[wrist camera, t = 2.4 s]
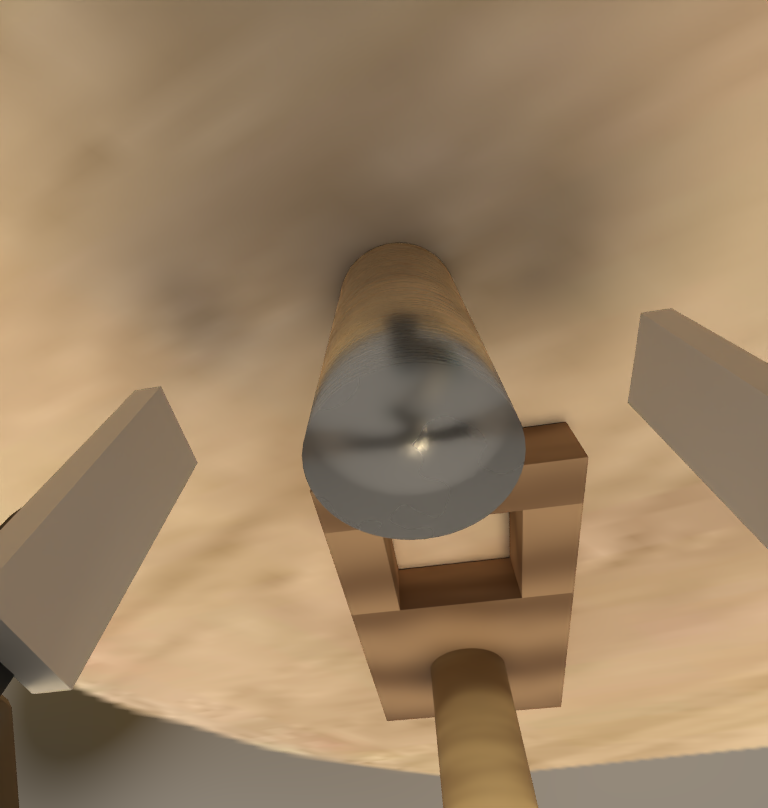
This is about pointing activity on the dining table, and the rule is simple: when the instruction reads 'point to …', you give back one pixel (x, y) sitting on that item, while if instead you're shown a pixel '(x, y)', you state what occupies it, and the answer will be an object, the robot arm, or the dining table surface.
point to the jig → (476, 626)
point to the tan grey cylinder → (409, 405)
